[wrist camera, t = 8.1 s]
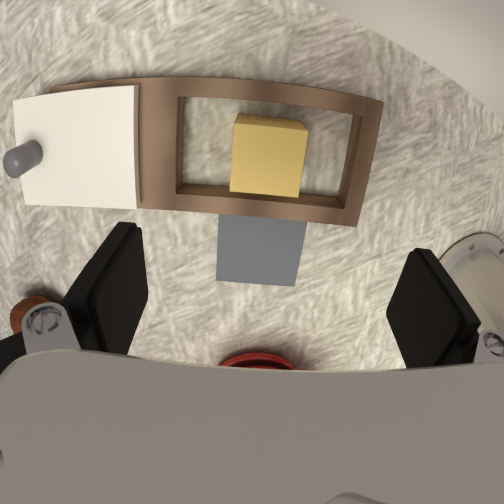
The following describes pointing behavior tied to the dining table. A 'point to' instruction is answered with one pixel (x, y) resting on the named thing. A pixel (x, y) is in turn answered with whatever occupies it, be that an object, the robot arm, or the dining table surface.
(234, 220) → the mat
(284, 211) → the brown box
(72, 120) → the lid
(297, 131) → the block
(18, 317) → the potato
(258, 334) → the dining table surface
